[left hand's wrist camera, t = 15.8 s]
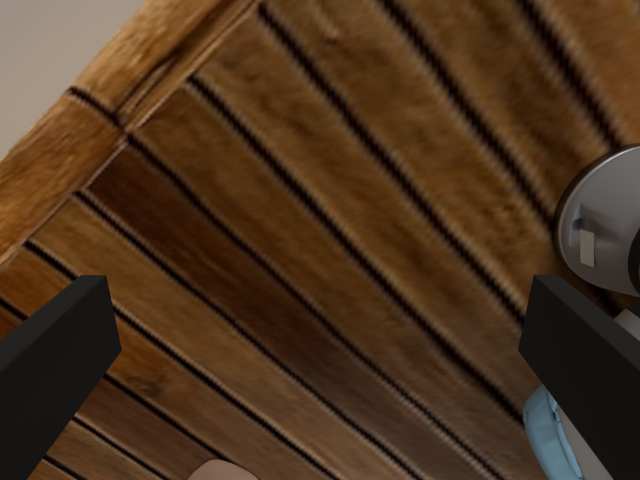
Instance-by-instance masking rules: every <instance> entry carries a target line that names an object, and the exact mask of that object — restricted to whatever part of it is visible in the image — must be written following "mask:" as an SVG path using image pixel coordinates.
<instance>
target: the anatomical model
mask: <svg viewBox="0 0 640 480" xmlns="http://www.w3.org/2000/svg"><path fill="white" fill-rule="evenodd" d="M188 480H258V479H257V478H256V477H255V476H254V475H253V474H251V473H250V472H248V471H247V470H245V469H243V468H241V467H239V466H237V465H234V464H232V463H229V462H226V461H223V460H218V459H214V460H210V461H208V462H206V463H204V464H203V465H202V466H200V467H199V468H198V469H197V470H196V471H194V472H193V473H192V475H191V476H190V477H189V478H188Z"/></svg>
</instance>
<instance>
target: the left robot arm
mask: <svg viewBox="0 0 640 480" xmlns="http://www.w3.org/2000/svg"><path fill="white" fill-rule="evenodd" d="M553 235H554V243H555V246H556V250H557V252H558V254H559V256H560V258H561V260H562V261H563V262H564V264H565V265H566V266H567V267H568V268H569V269H570V270H571V271H573V272H574V273H575V274H577V275H578V276H579V277H581V278H582V279H584V280H585V281H587V282H589V283H591V284H594V285H596V286H598V287H601V288H604V289H608V290H612V291H616V292H620V293H624V294H628V295H632V296H636V297H639V298H637V299H636V300H635V301H634V302H633V303H632V304H631V305H630V306H628V307H627V308H626V309H624V310H623V311H622V312H621V313H620V314H619V315H618V316H617V317H615V318H614V319H612V318H611V317H610V316H608V315H607V314H606V313H605V312H603V311H602V310H601V309H600V308H599V307H597V306H596V305H595V304H594V303H592V302H591V301H590V300H589V299H587V298H586V297H585V296H584V295H583V294H581V293H580V292H579V291H578V290H576V289H575V288H574V287H573V286H572V285H570V284H569V283H568V282H567V281H565V280H564V279H563V278H562V277H560V276H559V275H534V277H533V282H532V287H531V292H530V296H529V301H528V306H527V311H526V315H525V320H524V325H523V330H522V334H521V339H520V344H519V349H518V351H519V352H520V353H521V355H522V356H523V358H524V359H525V360H526V362H527V363H528V364H529V366H530V367H531V368H532V370H533V371H534V372H535V374H536V375H537V377H538V378H539V379H540V381H541V382H542V384H541V385H540V386H539V387H538V388H537V389H536V390H535V391H534V392H533V393H532V394H531V395H530V396H529V397H528V399H527V400H526V402H525V405H524V409H523V421H524V424H525V431H526V434H527V437H528V440H529V443H530V445H531V448H532V450H533V452H534V454H535V456H536V458H537V460H538V462H539V464H540V466H541V467H542V469H543V471H544V473H545V474H546V476H547V477H548V479H549V480H640V143H636V144H631V145H627V146H624V147H621V148H618V149H615V150H613V151H611V152H609V153H607V154H605V155H603V156H601V157H600V158H598V159H597V160H595V161H594V162H592V163H591V164H590V165H588V166H587V167H586V168H585V169H584V170H583V171H582V172H581V173H580V174H579V175H578V176H577V177H576V178H575V179H574V180H573V182H572V183H571V184H570V186H569V187H568V188H567V190H566V191H565V193H564V195H563V197H562V199H561V201H560V203H559V205H558V208H557V211H556V215H555V219H554V227H553ZM121 351H122V349H121V344H120V339H119V334H118V330H117V325H116V320H115V315H114V311H113V306H112V301H111V296H110V292H109V287H108V282H107V277H106V275H81V276H80V277H78V278H77V279H76V280H75V281H73V282H72V283H71V284H70V285H68V286H67V287H66V288H65V289H64V290H62V291H61V292H60V293H59V294H57V295H56V296H55V297H54V298H53V299H51V300H50V301H49V302H48V303H46V304H45V305H44V306H43V307H41V308H40V309H39V310H38V311H37V312H35V313H34V314H33V315H32V316H30V317H29V318H28V319H27V320H25V321H24V322H23V323H22V324H21V325H19V326H18V327H17V328H16V329H14V330H13V331H12V332H11V333H9V334H8V335H7V336H6V337H5V338H3V339H2V340H1V341H0V480H27V478H28V477H29V476H30V474H31V473H32V472H33V470H34V469H35V468H36V466H37V465H38V464H39V462H40V461H41V459H42V458H43V457H44V455H45V454H46V453H47V451H48V450H49V449H50V447H51V446H52V444H53V443H54V442H55V440H56V439H57V438H58V436H59V435H60V434H61V432H62V431H63V430H64V428H65V427H66V425H67V424H68V423H69V421H70V420H71V419H72V417H73V416H74V415H75V413H76V412H77V411H78V409H79V408H80V406H81V405H82V404H83V402H84V401H85V400H86V398H87V397H88V396H89V394H90V393H91V391H92V390H93V389H94V387H95V386H96V385H97V383H98V382H99V381H100V379H101V378H102V377H103V375H104V374H105V372H106V371H107V370H108V368H109V367H110V366H111V364H112V363H113V362H114V360H115V359H116V358H117V356H118V355H119V353H120V352H121Z"/></svg>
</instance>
